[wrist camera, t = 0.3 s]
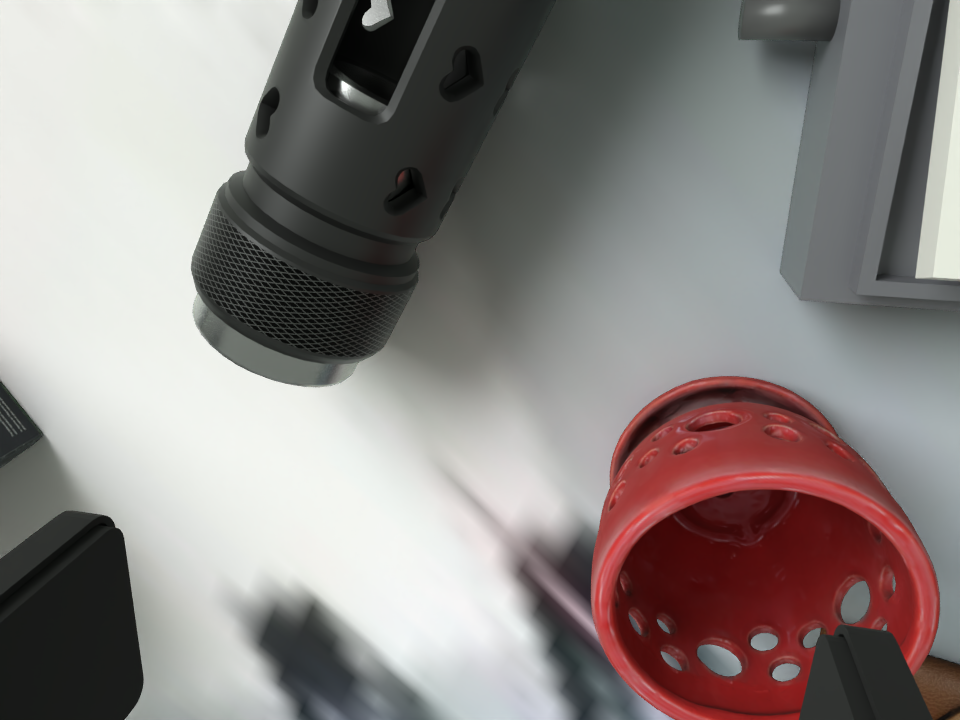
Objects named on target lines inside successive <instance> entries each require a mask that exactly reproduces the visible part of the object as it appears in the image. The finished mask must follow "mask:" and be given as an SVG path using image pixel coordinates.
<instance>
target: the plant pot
mask: <svg viewBox="0 0 960 720" xmlns="http://www.w3.org/2000/svg"><path fill="white" fill-rule="evenodd" d="M893 577H895V582H896V587H895V592H894V591H893ZM620 581H621V582H620ZM860 581H866V583H867V585H868V587H869V591H870V604H869V607H868V610H867V612H866V614H865V615H864V616H863V617H862V618H861V620H860V621H858V622H856V623H854V624H846V623H845V622H844V621H843V619H842V616H841V604H842V601H843V598H844V596H845V595H846V593H847V592H848V590H849V589H850V588H851V587H852V586H853V585H854V584H856V583H857V582H860ZM621 584H622V586H621ZM622 587H623V588H622ZM591 605H592V614H593V621H594V624H595V628H596V632H597V634H598V637H599V640H600V643H601V645H602V647H603V649H604V651H605V653H606V655H607V657H608V659H609V661H610V662H611V664H612V665H613V667H614V668H615V669H616V671H617V672H618V673H619V675H620V676H621V677H622V678H623V680H624V681H625V682H626V683H627V684H628V685H629V686H630V687H631V688H632V689H633V690H634V691H635V692H636V693H637V694H638V695H639V696H641V697H642V698H643V699H644V700H646V701H647V702H648V703H650V704H651V705H652V706H654V707H655V708H656V709H658V710H660V711H661V712H663V713H665V714H666V715H668V716H669V717H671V718H673V719H675V720H799V716H800V712H801V708H802V703H803V699H804V695H805V691H806V686H807V682H808V678H809V674H810V669H811V665H812V661H813V657H814V652H815V648H816V646H815V647H812V648H805V647H804V645H803V639H804V637H805V635H806V634H807V633H808V632H810V631H811V630H813V629H816V628H824V629H826V632H827V635H834V632H835V629H836V628H837V626H838V625H841V624H843V625H850V626H856V627H863V628H870V629H877V630H882V628H883V626H884V625H885V624H886V623H887V631H889V632H890V633H892V634H893V635H894V637H895V639H896V640H897V643H898V645H899V647H900V649H901V651H902V653H903V656H904V658H905V660H906V662H907V664H908V666H909V669H910V671H911V673H912V675H913V676H914V675H915V673H916V672H917V671H918V670H919V668H920V667H921V665H922V663H923V662H924V660H925V658H926V657H927V655H928V654H929V652H930V649H931V647H932V644H933V642H934V639H935V635H936V632H937V629H938V623H939V614H940V592H939V587H938V581H937V577H936V573H935V570H934V567H933V564H932V562H931V560H930V557H929V555H928V553H927V551H926V549H925V547H924V545H923V543H922V541H921V540H920V538H919V536H918V534H917V532H916V531H915V529H914V527H913V526H912V524H911V522H910V520H909V519H908V517H907V516H906V514H905V513H904V511H903V510H902V508H901V507H900V506H899V504H898V503H897V502H896V501H895V500H894V499H893V497H892V496H891V495H890V493H889V492H888V490H887V489H886V487H885V486H884V484H883V483H882V481H881V480H880V478H879V477H878V476H877V474H876V473H875V472H874V471H873V470H872V468H871V467H870V466H869V465H868V464H867V463H866V462H865V460H864V459H863V458H862V457H861V456H860V455H859V454H858V453H857V452H856V451H854V450H853V449H852V448H851V447H850V446H849V445H847V444H846V443H845V442H844V441H843V440H841V439H840V438H839V437H838V435H837V433H836V432H835V430H834V428H833V427H832V426H831V424H830V423H829V422H828V420H827V419H826V418H825V417H824V416H823V415H822V414H821V413H820V412H819V411H818V410H817V409H816V408H815V407H814V406H813V405H812V404H810V403H809V402H808V401H806V400H805V399H804V398H802V397H800V396H799V395H797V394H796V393H794V392H792V391H790V390H788V389H786V388H784V387H781V386H779V385H776V384H773V383H770V382H766V381H763V380H759V379H754V378H747V377H735V376H720V377H709V378H703V379H698V380H694V381H691V382H688V383H685V384H683V385H680V386H678V387H675V388H673V389H671V390H669V391H668V392H666V393H664V394H662V395H661V396H659V397H657V398H656V399H654V400H653V401H652V402H650V403H649V404H648V405H647V406H645V407H644V408H643V409H642V410H641V411H640V412H639V413H638V414H637V415H636V416H635V417H634V418H633V420H632V421H631V422H630V423H629V425H628V426H627V427H626V429H625V430H624V432H623V434H622V435H621V437H620V439H619V441H618V443H617V446H616V448H615V451H614V454H613V457H612V462H611V468H610V489H609V492H608V494H607V497H606V499H605V502H604V506H603V510H602V515H601V520H600V526H599V531H598V536H597V540H596V544H595V549H594V555H593V563H592V578H591ZM629 614H630V615H631V616H632V617H633V618H634V620H635V621H636V622H637V624H638V626H639V628H640V631H641V635H639V634H638V633H637V632H636V631H635V630H634V628H633V627H632V624H631V622H630V619H629ZM657 619H659V620H660V621H662V622H663V623H664V624H665V625H666V626H667V627H668V629H669V631H670V634H669V633H667V632H665V631H664V630H663V629H662V628H661V627H660V626H659V625H658V622H657ZM760 633H770V634H773V635H775V636H776V637H777V638H778V644H777V645H776V646H775V647H774V648H773V649H771V650H766V651H759V650H756V649H754V648H753V647H752V646H751V644H750V643H751V639H752V638H753V637H754V636H755V635H757V634H760ZM707 644H711V645H717V646H720V647H723V648H725V649H727V650H729V651H730V652H732V653H733V654H734V655H735V656H736V657H737V658H738V659H739V661H740V663H741V666H742V671H741V673H739V674H737V675H736V676H729V677H728V676H722V675H719V674H717V673H715V672H713V671H712V670H710V669H709V668H708V667H707V666H706V665H705V664H704V663H703V662H702V661H701V660H700V659H699V658H698V656H697V649H698V647H699V646H701V645H707ZM660 651H663V652H666V653H668V654H670V655H671V656H672V657H673V658H675V659H676V660H677V661H678V663H679V664H680V666H681V668H682V671H680V670H677V669H675V668H673V667H671V666H670V665H668V664H667V663H666V662H665V661H664V659H663V657H662V655H661V652H660ZM785 663H790V664H795V665H797V666H799V667H800V672H799V674H798V676H796V677H795V678H793V679H791V680H788V681H783V682H781V681H777V680H775V679H774V678H773V677H772V673H773V671H774V669H775V668H776V667H777V666H779V665H781V664H785Z"/></svg>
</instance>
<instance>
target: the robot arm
mask: <svg viewBox="0 0 960 720" xmlns="http://www.w3.org/2000/svg"><path fill="white" fill-rule="evenodd" d="M142 688H143V671H142V664H141V656H140V649H139V642H138V635H137V628H136V621H135V613H134V606H133V599H132V592H131V585H130V578H129V570H128V563H127V556H126V549H125V542H124V537H123V533H122V532H121V530H120V529H118V528H115V524H114V522H113V521H112V519H111V518H110V517H108V516H105V515H98V514H92V513H85V512H78V511H65V512H63V513H61V514H59V515H58V516H57V517H55V518H54V519H53V520H51V521H50V522H49V523H47V524H46V525H45V526H43V527H42V528H41V529H39V530H38V531H37V532H35V533H34V534H33V535H31V536H30V537H29V538H28V539H26V540H25V541H24V542H22V543H21V544H20V545H18V546H17V547H16V548H14V549H13V550H12V551H10V552H9V553H8V554H6V555H5V556H4V557H2V558H1V559H0V720H124V719H125V718H126V717H127V716H128V714H129V713H130V712H131V711H132V709H133V708H134V707H135V705H136V704H137V702H138V700H139V698H140V695H141V692H142ZM799 720H933V718H932V716H931V714H930V712H929V710H928V708H927V705H926V703H925V701H924V699H923V697H922V695H921V692H920V690H919V688H918V686H917V684H916V682H915V679H914V677H913V675H912V673H911V671H910V669H909V666H908V664H907V662H906V660H905V658H904V656H903V653H902V651H901V649H900V647H899V645H898V643H897V640H896V639H895V637H894V635H893V634H892V633H890V632H889V631H883V630H877V629H870V628H863V627H856V626H850V625H843V624H841V625H838V626H837V628H836V629H835V632H834V635H827V634H821V635H820V636H819V638H818V641H817V644H816V648H815V652H814V657H813V661H812V665H811V669H810V674H809V678H808V682H807V686H806V691H805V695H804V699H803V703H802V708H801V712H800V716H799Z"/></svg>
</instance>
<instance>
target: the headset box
mask: <svg viewBox="0 0 960 720" xmlns="http://www.w3.org/2000/svg"><path fill="white" fill-rule="evenodd" d="M42 436H43V435H42V432H41V431H40V430H39V429H38V428H37V427H36V425H35V424H34V423H33V421H32V420H31V419H30V418H29V417H28V415H27V414H26V413H25V411H24V410H23V409H22V408H21V406H20V405H19V404H18V403H17V402H16V400H15V399H14V398H13V397H12V395H11V394H10V393H9V392H8V390H7V389H6V388H5V387H4V385H3V384H2V383H1V382H0V468H1V467H2V466H4V465H5V464H6V463H8V462H9V461H11V460H12V459H13V458H15V457H16V456H18V455H19V454H20V453H22V452H23V451H25V450H26V449H28V448H29V447H30V446H32V445H33V444H34V443H35V442H37V441H38V440H39V439H40V438H41V437H42Z"/></svg>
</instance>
